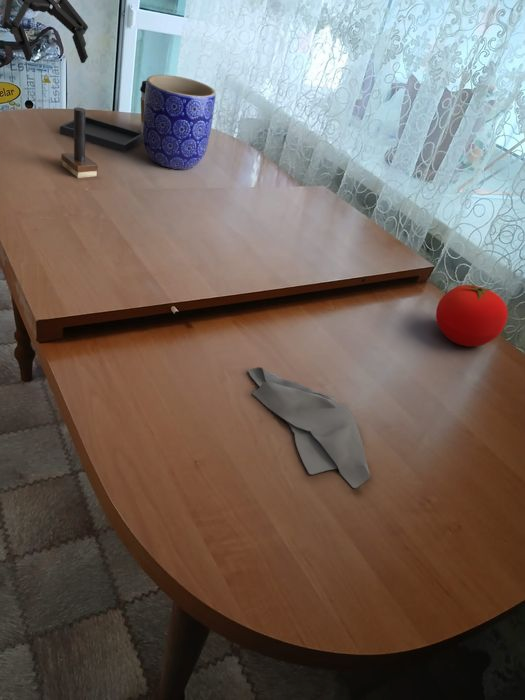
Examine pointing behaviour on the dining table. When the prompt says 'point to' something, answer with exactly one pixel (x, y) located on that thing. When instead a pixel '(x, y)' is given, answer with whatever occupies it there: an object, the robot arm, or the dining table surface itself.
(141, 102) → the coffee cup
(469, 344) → the tomato
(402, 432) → the dining table surface
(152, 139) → the planter
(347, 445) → the cloth
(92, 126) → the tray
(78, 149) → the brush
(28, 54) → the robot arm
